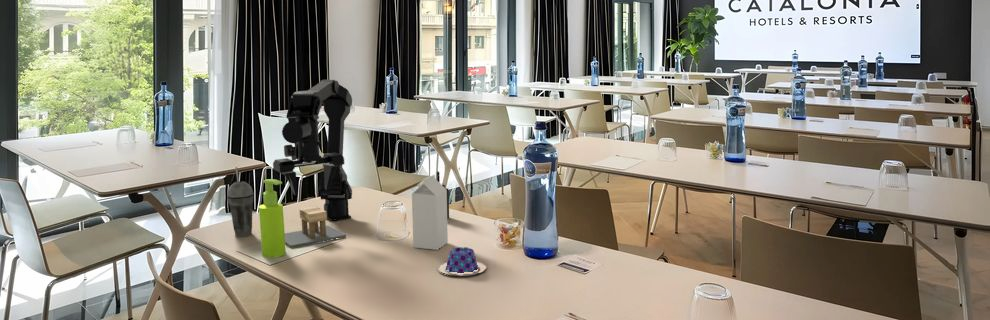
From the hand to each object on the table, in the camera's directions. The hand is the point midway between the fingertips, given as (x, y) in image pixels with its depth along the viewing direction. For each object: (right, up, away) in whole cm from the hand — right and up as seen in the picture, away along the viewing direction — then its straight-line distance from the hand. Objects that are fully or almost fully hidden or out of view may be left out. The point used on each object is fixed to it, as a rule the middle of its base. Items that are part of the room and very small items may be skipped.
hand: (311, 192), depth 195 cm
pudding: (+44, -18, -25) cm, 53 cm away
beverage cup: (-21, -13, +5) cm, 25 cm away
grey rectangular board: (-1, -13, +1) cm, 13 cm away
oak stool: (0, -12, +2) cm, 12 cm away
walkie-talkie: (+35, -9, +20) cm, 41 cm away
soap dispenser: (-6, -16, -13) cm, 21 cm away
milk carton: (+34, -14, -6) cm, 38 cm away
